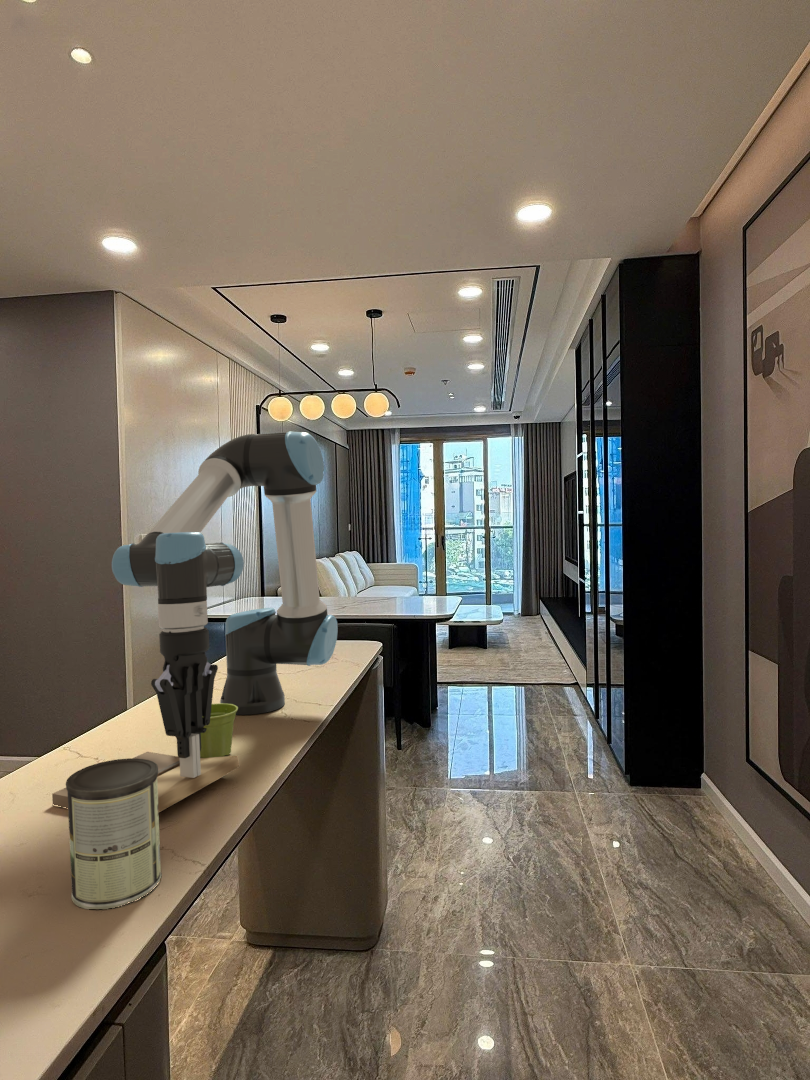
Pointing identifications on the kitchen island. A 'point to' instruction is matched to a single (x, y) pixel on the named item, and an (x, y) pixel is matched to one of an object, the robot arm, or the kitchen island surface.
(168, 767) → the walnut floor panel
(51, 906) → the kitchen island surface
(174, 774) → the oak plank
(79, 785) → the coffee can
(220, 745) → the plant pot
